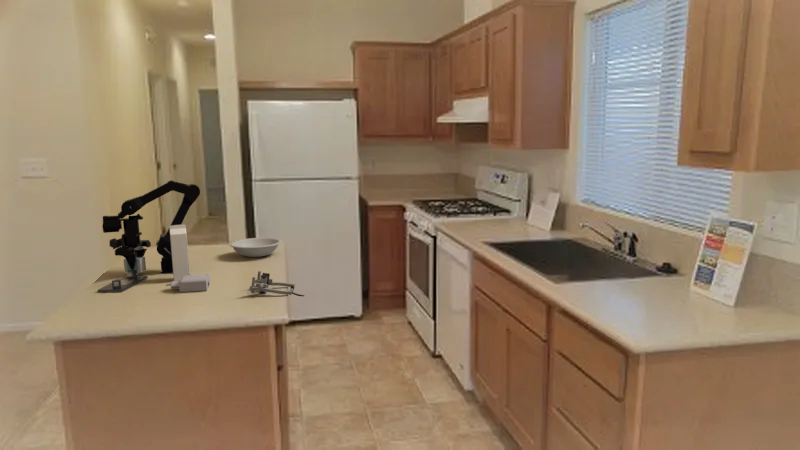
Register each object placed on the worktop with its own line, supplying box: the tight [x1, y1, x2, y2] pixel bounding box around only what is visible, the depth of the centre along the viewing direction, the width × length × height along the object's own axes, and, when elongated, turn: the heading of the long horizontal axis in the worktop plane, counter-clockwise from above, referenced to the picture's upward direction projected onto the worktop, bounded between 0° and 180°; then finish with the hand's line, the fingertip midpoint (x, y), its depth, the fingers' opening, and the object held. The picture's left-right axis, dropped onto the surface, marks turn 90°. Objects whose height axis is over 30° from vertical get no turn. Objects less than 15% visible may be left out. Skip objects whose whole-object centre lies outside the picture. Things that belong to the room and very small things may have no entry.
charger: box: [165, 273, 211, 293], centre depth 215 cm, size 5×9×15 cm
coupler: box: [123, 256, 147, 273], centre depth 238 cm, size 7×4×5 cm, turn 88°
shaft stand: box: [97, 269, 149, 293], centre depth 223 cm, size 9×20×4 cm, turn 178°
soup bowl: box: [228, 237, 283, 258], centre depth 270 cm, size 24×24×7 cm
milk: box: [169, 224, 191, 281], centre depth 228 cm, size 6×6×22 cm
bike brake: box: [249, 270, 305, 297], centre depth 209 cm, size 14×7×20 cm
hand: (135, 268), depth 238 cm, fingers closed on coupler, 4 cm apart
